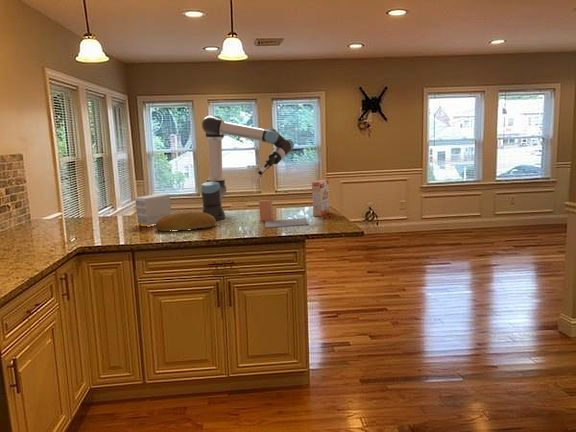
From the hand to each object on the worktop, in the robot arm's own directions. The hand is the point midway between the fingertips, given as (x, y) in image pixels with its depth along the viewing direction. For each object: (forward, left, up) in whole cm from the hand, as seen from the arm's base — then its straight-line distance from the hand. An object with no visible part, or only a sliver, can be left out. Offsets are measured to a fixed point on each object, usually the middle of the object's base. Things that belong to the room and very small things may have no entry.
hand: (256, 175), depth 286 cm
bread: (-43, -13, -27) cm, 52 cm away
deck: (+4, -6, -27) cm, 28 cm away
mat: (+15, -21, -27) cm, 37 cm away
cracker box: (+38, 0, -27) cm, 47 cm away
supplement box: (-66, +9, -27) cm, 72 cm away
